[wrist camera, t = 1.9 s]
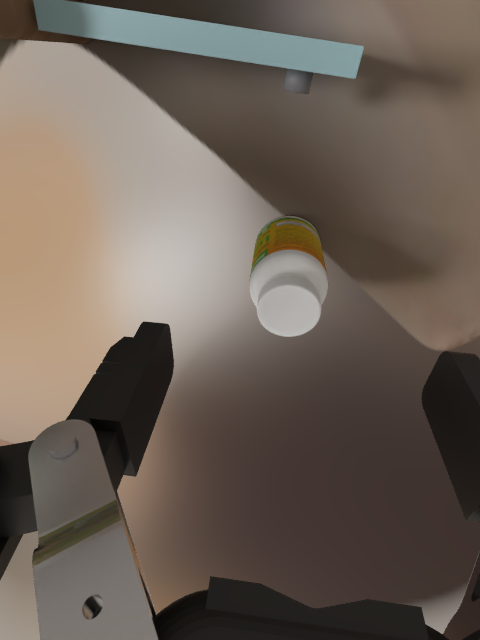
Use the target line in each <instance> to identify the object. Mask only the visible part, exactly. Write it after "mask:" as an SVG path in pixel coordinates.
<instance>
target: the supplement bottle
mask: <svg viewBox="0 0 480 640" xmlns="http://www.w3.org/2000/svg"><path fill="white" fill-rule="evenodd" d="M249 290H250V295H251V298H252V300H253V302H254V304H255V306H256V307H257V315H258V318H259V320H260V322H261V324H262V325H263V326H264V327H265V328H266V329H267V330H269V331H270V332H272V333H274V334H277V335H280V336H286V337H290V336H291V337H292V336H298V335H302V334H304V333H306V332H308V331H309V330H311V329H312V328H313V327H314V326H315V325H316V324H317V322H318V321H319V318H320V315H321V305H322V303H323V302H324V300H325V297H326V295H327V291H328V279H327V273H326V268H325V263H324V258H323V252H322V247H321V241H320V238H319V235H318V233H317V231H316V229H315V228H314V227H313V226H312V224H310V223H309V222H308V221H306V220H304V219H302V218H299V217H296V216H283V217H279V218H276V219H274V220H272V221H270V222H269V223H268V224H266V225H265V226H264V227H263V228H262V230H261V231H260V233H259V235H258V237H257V240H256V244H255V251H254V256H253V262H252V269H251V275H250V285H249Z"/></svg>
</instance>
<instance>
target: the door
mask: <svg viewBox="0 0 480 640" xmlns="http://www.w3.org/2000/svg"><path fill="white" fill-rule="evenodd" d="M33 2H34V7H35V13H36V19H37V24H38V30H42V31H48V32H55V33H61V34H68V35H74V36H81V37H87V38H94V39H100V40H107V41H113V42H120V43H126V44H133V45H139V46H146V47H152V48H159V49H165V50H171V51H178V52H184V53H191V54H197V55H204V56H210V57H217V58H223V59H230V60H236V61H243V62H249V63H256V64H262V65H269V66H275V67H282V68H287V71H286V77H285V83H284V89H283V90H286V91H291V92H296V93H304V94H309V90H310V85H311V80H312V75H313V72H314V73H320V74H327V75H333V76H340V77H346V78H353V79H356V75H357V71H358V68H359V64H360V60H361V56H362V53H363V49H364V46H359V45H352V44H346V43H339V42H333V41H326V40H320V39H313V38H307V37H300V36H294V35H287V34H281V33H274V32H268V31H261V30H255V29H248V28H242V27H235V26H228V25H222V24H215V23H209V22H202V21H196V20H189V19H183V18H176V17H170V16H163V15H157V14H150V13H144V12H137V11H131V10H124V9H118V8H111V7H105V6H98V5H92V4H85V3H79V2H72V1H66V0H33Z"/></svg>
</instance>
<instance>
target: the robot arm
mask: <svg viewBox="0 0 480 640" xmlns="http://www.w3.org/2000/svg"><path fill="white" fill-rule="evenodd" d="M173 368H174V359H173V350H172V342H171V333H170V327H169V325H168V324H164V323H153V322H143V323H142V324H141V325H140V327H139V329H138V331H137V332H136V334H135V336H134V338H133V337H123V338H122V339H121V340H119V341H118V342H117V343H116V344H115V345H113V346H112V347H111V348H110V349H109V351H108V353H107V354H106V356H105V358H104V359H103V362H102V363H101V364H100V366H99V368H98V369H97V370H96V374H95V375H93V377H92V379H91V380H90V382H89V384H88V385H87V387H86V388H85V390H84V392H83V393H82V395H81V397H80V398H79V400H78V401H77V403H76V405H75V407H74V408H73V410H72V411H71V413H70V415H69V416H68V417H67V419H66V420H65V421H61V422H58V423H56V424H54V425H52V426H50V427H48V428H47V429H45V430H44V431H43V432H42V433H41V434H40V435H39V436H38V437H37V438H36V439H35V440H33V441H28V442H23V443H17V444H12V445H6V446H0V580H1V578H2V576H3V574H4V572H5V570H6V567H7V566H8V564H9V562H10V560H11V558H12V556H13V553H14V552H15V550H16V548H17V546H18V543H19V542H20V540H21V538H22V536H23V534H26V533H30V532H35V531H38V538H39V544H38V548H36V549H35V550H34V552H33V560H32V561H33V562H32V563H33V576H34V586H35V594H36V604H37V612H38V622H39V631H40V639H41V640H480V552H479V555H478V558H477V561H476V564H475V566H474V569H473V572H472V575H471V578H470V580H469V584H468V586H467V589H466V592H465V595H464V597H463V600H462V603H461V605H460V607H459V609H458V610H457V612H456V613H455V615H454V616H453V617H452V619H451V620H450V622H449V623H448V625H447V627H446V629H445V631H444V633H443V634H441V633H439V632H438V631H436V630H434V629H433V628H431V627H429V626H427V625H425V621H424V617H423V613H422V608H421V607H417V606H409V605H403V604H396V603H389V602H382V601H376V600H368V599H367V600H362V601H356V602H351V603H346V604H340V605H336V606H330V607H325V608H317V609H316V608H311V607H308V606H306V605H304V604H302V603H300V602H298V601H295V600H293V599H292V598H289V597H287V596H285V595H283V594H281V593H279V592H277V591H275V590H273V589H271V588H268V587H266V586H264V585H262V584H259V583H252V582H245V581H238V580H231V579H225V578H218V577H211V576H210V583H209V589H208V590H202V591H197V592H195V593H192V594H189V595H186V596H184V597H182V598H180V599H178V600H176V601H174V602H173V603H171V604H170V605H169V606H167V607H166V608H164V609H163V610H161V611H160V612H159V613H158V614H157V613H156V610H155V607H154V604H153V601H152V598H151V595H150V592H149V589H148V585H147V582H146V580H145V576H144V573H143V571H142V568H141V565H140V562H139V559H138V556H137V552H136V549H135V546H134V543H133V540H132V537H131V534H130V531H129V527H128V524H127V521H126V518H125V515H124V512H123V508H122V505H121V502H120V499H119V496H118V493H117V489H118V486H119V484H120V482H121V479H122V477H123V475H128V476H136V475H137V472H138V470H139V467H140V464H141V462H142V459H143V456H144V453H145V451H146V448H147V445H148V442H149V440H150V437H151V434H152V431H153V429H154V426H155V423H156V420H157V418H158V415H159V412H160V409H161V407H162V404H163V401H164V398H165V396H166V393H167V390H168V387H169V385H170V382H171V379H172V375H173ZM422 406H423V409H424V412H425V414H426V417H427V420H428V422H429V425H430V428H431V430H432V433H433V435H434V438H435V441H436V443H437V446H438V448H439V451H440V454H441V456H442V459H443V461H444V464H445V467H446V470H447V472H448V475H449V478H450V480H451V483H452V485H453V488H454V491H455V493H456V496H457V499H458V501H459V504H460V506H461V509H462V512H463V514H464V517H465V519H466V520H469V521H477V522H480V359H479V358H478V357H477V356H476V355H475V354H471V353H460V352H450V351H444V352H443V353H442V354H441V355H440V356H439V358H438V360H437V362H436V364H435V366H434V368H433V370H432V371H431V374H430V375H429V377H428V379H427V381H426V384H425V385H424V387H423V391H422Z"/></svg>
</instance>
